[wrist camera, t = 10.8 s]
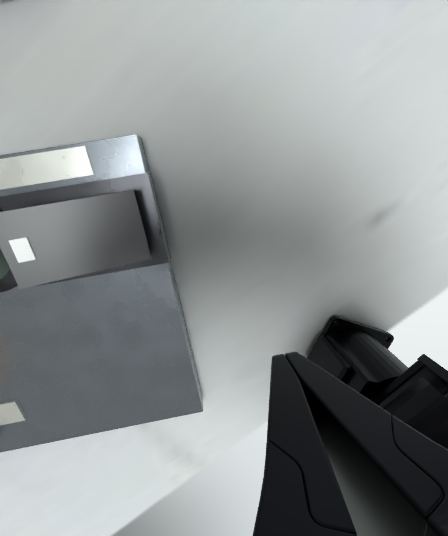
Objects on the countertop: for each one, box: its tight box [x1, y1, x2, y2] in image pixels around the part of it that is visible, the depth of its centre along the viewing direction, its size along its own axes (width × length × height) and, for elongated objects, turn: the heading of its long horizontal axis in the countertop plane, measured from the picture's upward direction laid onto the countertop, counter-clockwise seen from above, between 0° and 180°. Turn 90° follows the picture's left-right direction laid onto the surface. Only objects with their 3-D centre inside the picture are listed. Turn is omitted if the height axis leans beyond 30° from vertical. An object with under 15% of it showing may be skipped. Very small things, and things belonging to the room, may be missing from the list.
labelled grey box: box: [0, 190, 152, 289], centre depth 15 cm, size 7×4×1 cm, turn 99°
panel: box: [0, 135, 203, 452], centre depth 18 cm, size 21×22×4 cm
